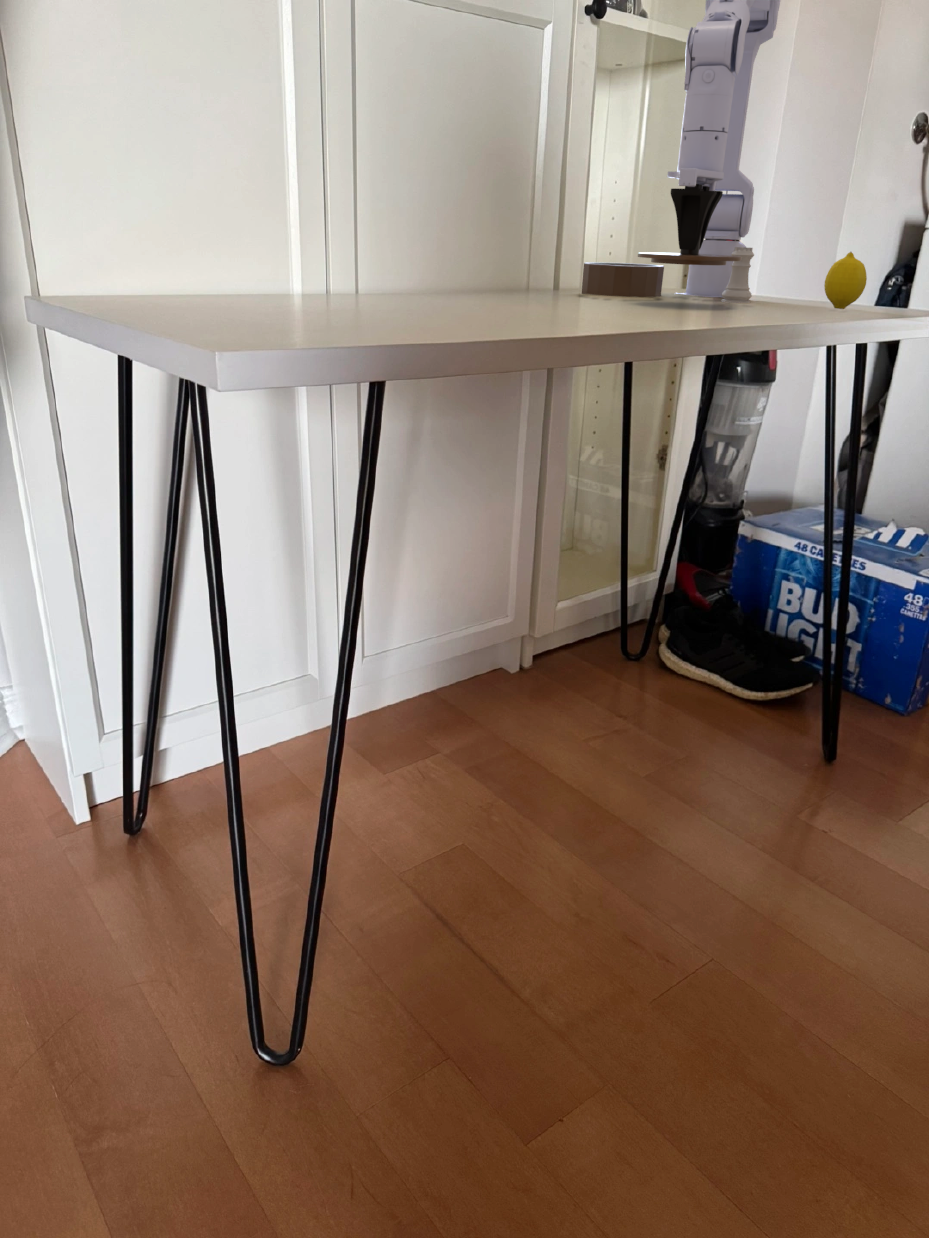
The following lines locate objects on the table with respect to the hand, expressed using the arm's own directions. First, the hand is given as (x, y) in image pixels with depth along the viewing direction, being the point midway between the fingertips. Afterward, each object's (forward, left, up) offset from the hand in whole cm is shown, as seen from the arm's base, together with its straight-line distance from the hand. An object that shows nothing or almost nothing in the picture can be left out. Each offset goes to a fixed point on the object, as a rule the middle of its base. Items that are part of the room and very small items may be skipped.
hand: (689, 249), depth 117 cm
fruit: (-26, +7, -8) cm, 28 cm away
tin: (-9, -21, -8) cm, 24 cm away
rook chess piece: (-16, -4, -8) cm, 18 cm away
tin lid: (0, 0, -1) cm, 1 cm away
